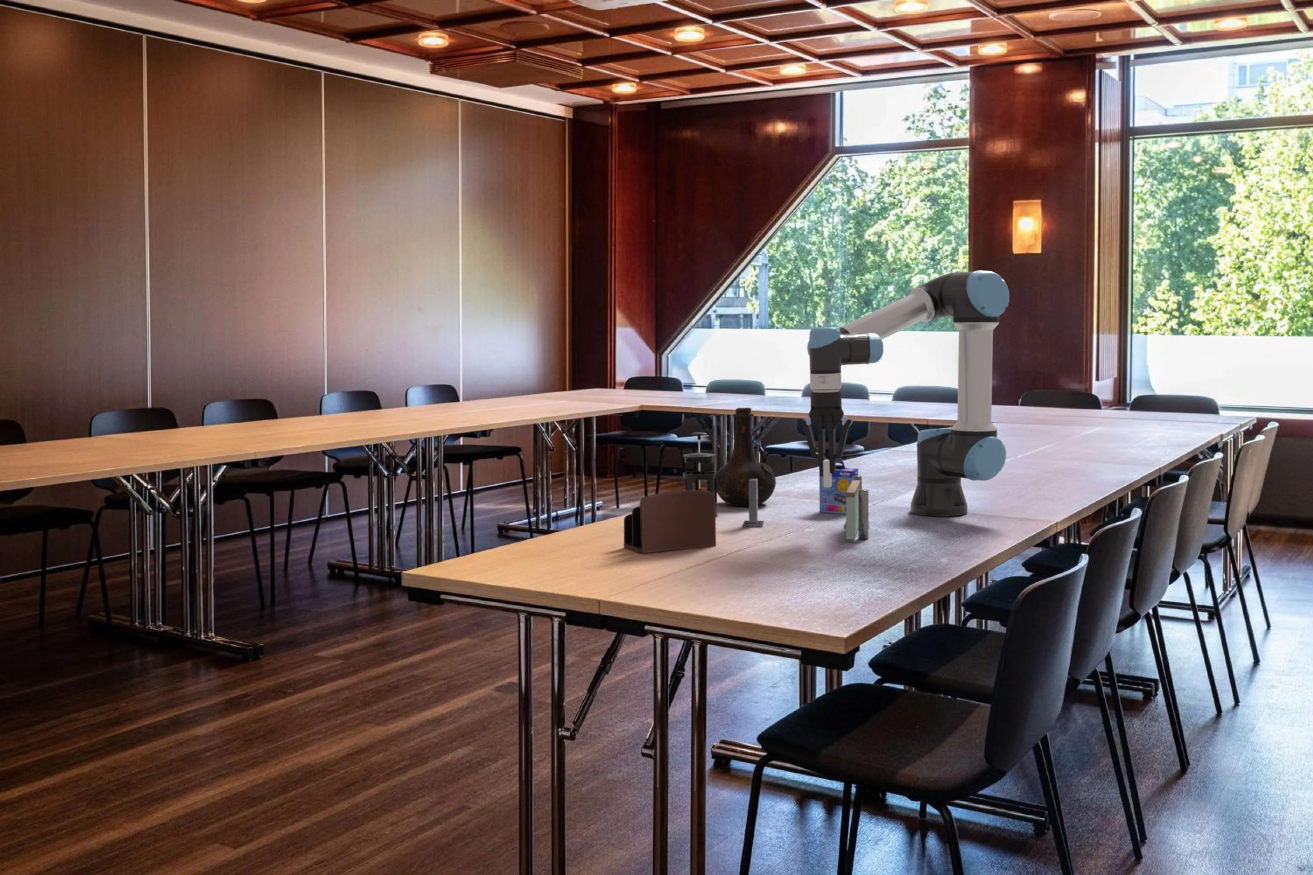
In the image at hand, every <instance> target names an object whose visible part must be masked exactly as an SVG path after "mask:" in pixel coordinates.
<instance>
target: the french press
mask: <svg viewBox="0 0 1313 875" xmlns="http://www.w3.org/2000/svg"><path fill="white" fill-rule="evenodd" d="M691 435H693V436H696V437H697V441H698V452H692V453H687V454H683V455H682V457H683V458H684V463H685V464H686V463H690V462H691V463H692V462H697V463H698V470H691V471H685V472H683V473H682V478H683V479H684V480H685V481H684V483H685V488H684V490H693V481H696V480H697V481H698V483H699V484H698V490H702V488H701V481H702V480H704V481H705V480H706V484H707V485H706V488H707V489H706V491H711V492H713V493H714V495H715V510H716V518H717V517H718V512H717V511H718V510H717V503H718V494H717V472H718V471H715V470H714V471H713V470H712V471H711V470H701V465H712V464H715V458H716V456H717V455H716V454H715V453H709V452H701V440H702V436H704V435H708V434H707V433H706V432H701V431H700V432H692V433H691Z"/></svg>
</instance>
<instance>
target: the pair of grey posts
mask: <svg viewBox="0 0 1313 875" xmlns="http://www.w3.org/2000/svg"><path fill="white" fill-rule="evenodd" d="M852 480H861V489H859V490H858V530H857V533H858V535H857V537H858V538H857V539H858V540H860V541H867V540H869V529H870V521H869V489H868V488H867V489H866V488H863V476H862V475H858V476H852ZM758 506H759V505H758V484H757V479H749V506H748V507H749V508H748V520H744V521H743V523H742V527H743V528H763V527H764V524H765V521H764V520H759V515H758V513H759V512H758V511H759V510H758V509H759V507H758ZM844 526H845V527H844V528H845V529H846V520H845V522H844Z"/></svg>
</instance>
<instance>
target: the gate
mask: <svg viewBox="0 0 1313 875" xmlns="http://www.w3.org/2000/svg"><path fill="white" fill-rule="evenodd" d="M859 489H861V480H852V482H851V484H850V486H849V488H848V490H847V492H846V514H845V516H846V517H845V521H846V528H845V532H846V533H845V536H846V538H845V539H846V540H855V539H856V534H857V533H858V490H859Z"/></svg>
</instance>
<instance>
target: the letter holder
mask: <svg viewBox="0 0 1313 875" xmlns="http://www.w3.org/2000/svg"><path fill="white" fill-rule="evenodd" d="M716 518H717V517H716V510H715V495H714V493H713V492H711V491H707V490H703V489H701V490H697V489H692V490H685V489H683V490H672V491H665V492H660V493H654V494H651V495H646V496H644V497H642V498H641V499H640V502H639V506H636V507H634V508H633V509H632V511H631V513H629V514H627V515H625V517H624V518H623V548H624V549H626V548H627V550H630V551H633V552H635V553H638V554H641V555H648V554H657V553H659V554H660V553H666V552H675V551H676V552H677V551H683V550H693V549H694V550H695V549H701V548H711V547H717V535H716V534H717V533H716V532H717V527H716V526H717V522H716Z"/></svg>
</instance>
